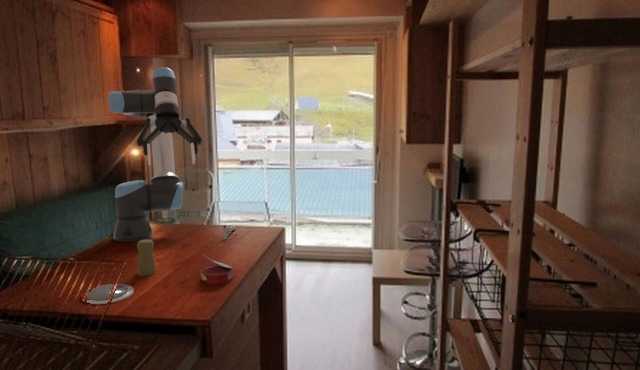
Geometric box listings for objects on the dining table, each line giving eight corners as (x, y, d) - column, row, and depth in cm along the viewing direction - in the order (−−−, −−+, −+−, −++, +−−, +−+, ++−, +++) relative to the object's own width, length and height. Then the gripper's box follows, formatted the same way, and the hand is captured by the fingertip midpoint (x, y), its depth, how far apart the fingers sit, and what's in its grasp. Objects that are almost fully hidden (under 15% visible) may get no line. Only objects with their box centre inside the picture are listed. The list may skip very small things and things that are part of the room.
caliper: (225, 241, 190) (225, 226, 189) (223, 241, 190) (222, 226, 189) (237, 228, 210) (237, 214, 209) (235, 228, 210) (234, 214, 209)
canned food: (206, 288, 152) (206, 258, 155) (236, 285, 151) (236, 255, 154) (194, 284, 141) (194, 251, 144) (227, 281, 141) (227, 248, 144)
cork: (160, 270, 154) (158, 238, 152) (148, 277, 148) (146, 243, 147) (145, 268, 156) (143, 236, 154) (132, 274, 150) (130, 241, 149)
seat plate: (71, 295, 133) (71, 292, 133) (118, 282, 144) (118, 278, 144) (94, 309, 125) (94, 305, 124) (143, 293, 135) (142, 290, 135)
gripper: (126, 101, 150) (129, 158, 141) (205, 101, 159) (212, 155, 150) (127, 114, 156) (130, 170, 148) (203, 114, 165) (210, 166, 157)
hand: (172, 162), depth 149 cm, fingers open, 13 cm apart
